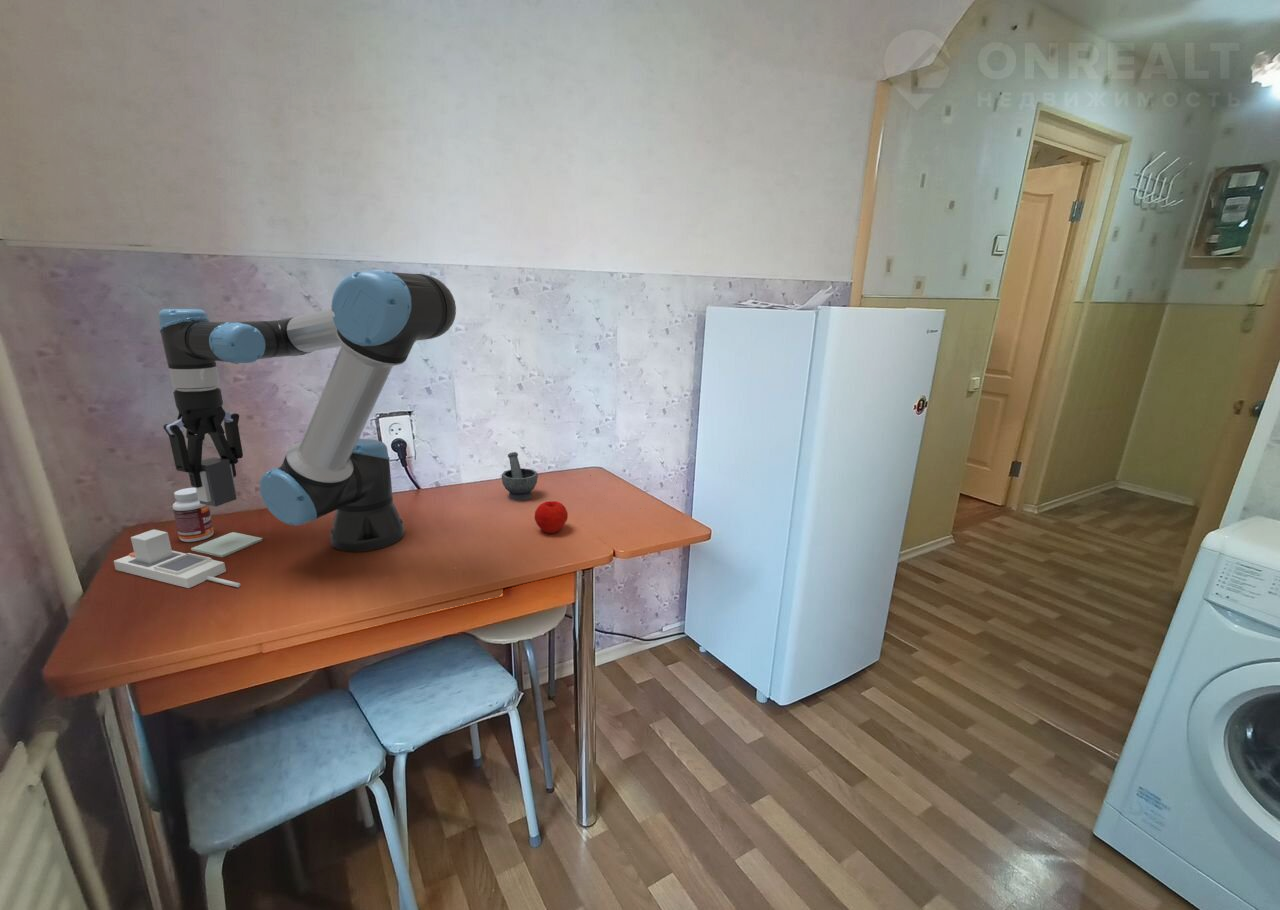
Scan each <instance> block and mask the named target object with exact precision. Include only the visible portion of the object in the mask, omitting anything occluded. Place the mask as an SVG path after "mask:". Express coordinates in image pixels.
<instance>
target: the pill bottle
mask: <svg viewBox="0 0 1280 910" xmlns="http://www.w3.org/2000/svg"><path fill="white" fill-rule="evenodd" d="M173 496H174V499H175V502H174V503H173V504H172V512H173V516H174V521H175V525H176V529H177V534H178V538H179V540H180V541H182V542H185V543H193V542H199V541H202V540H206V539H208V538H209V539H210V538H211V537H212V536H213V535H214V533H215V531H214V525H213V521H212V516H211V509H210V505H205V504H200V501H199V500H198V497H197V492H196V488H195V487H188V488H187V487H186V488H181V489H179V490H176V491H174V492H173Z"/></svg>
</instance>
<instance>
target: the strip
mask: <svg viewBox="0 0 1280 910" xmlns="http://www.w3.org/2000/svg"><path fill="white" fill-rule="evenodd" d="M130 540H131V544H132V548H133V552H130V553H128V555H126V556H123V557H121V558H117V559H115V560H113V564H114V568H115V570H116V571H119V572H121V573H127V574H131V575H135V576H139V577H143V578H147V579H151V580H154V581H158V582H162V583H166V584H170V585H174V586H178V587H181V588H182V587H183V588H185V589H190V588H192V587H195V586H197V585H199V584H201V583H204V582H206V581H209V582H213V583H218V584H222V585H226V586H231V587H234V588H240V587H241V583H240V582H236V581H231V580H227V579H224V578H221V577H220V578H219V577H216V576H219V575H221V574H223V573H226V572H227V569H226V565H225V561H224V562H223V561H219V560H215V559H212V557H209V556H204V555H199V554H195V553H191V552H187V553H184V552H181V551H177V550H172V546H171V545H172V544H171V542H170V537H169V533H168V532H167V531H163V530H159V529H155V528H154V529H150V530H147V531H145V532H142V533H140V534H136V535H134V536H133V535H132V536H131V537H130Z"/></svg>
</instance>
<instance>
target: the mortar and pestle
mask: <svg viewBox="0 0 1280 910" xmlns="http://www.w3.org/2000/svg"><path fill="white" fill-rule="evenodd" d="M518 456H519V453H518V452H516V451H513V452H510V453H508V454H507V458H508V459H509V466H510V469H507V470H504V471H503V472H502V473H501V483H502V485H503V487H504V489H506V490H507V492H509V493H508V498H509V499H510V500H513V501H519V502H520V501H521V502H522V501H526V500H529V499H531V498H532V497H533V496H532V491H533V490H534V488H535V487H536V485H537V483H538V477H539V476H538V475H539V474H538V472H537V471H535V470H534V469H531V468H530V469H529V468H521V464H520V461H519V457H518Z"/></svg>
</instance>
